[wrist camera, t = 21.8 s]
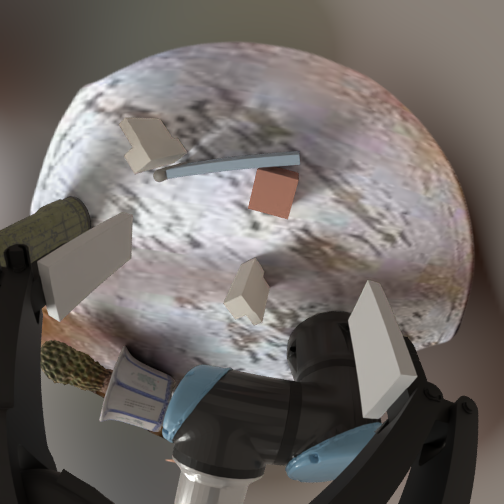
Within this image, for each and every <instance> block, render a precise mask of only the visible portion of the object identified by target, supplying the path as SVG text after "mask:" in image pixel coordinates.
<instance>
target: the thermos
mask: <svg viewBox="0 0 504 504" xmlns="http://www.w3.org/2000/svg"><path fill="white" fill-rule="evenodd" d="M90 226H91V223H90V217H89V213H88V210H87V209H86V207H85V205H84V204H83V203H82V202H81V201H80V200H79V199H78V198H76V197H71V196H69V197H67V198H65V199H63V200H61V199H59V200H57V201H55V202H52V203H50V204H47V205H45V206H43V207H41V208H40V209H39V210H38V211H37V212H36V213H35V214H33V215H31V216H29V217H26V218H24V219H22V220H20V221H18V222H16V223H14V224H12V225H10V226H8V227H6V228H4V229H2V230H0V262H1V266H3V267H6V262H5V258H4V253H3V252H4V250H5V249H6V248H8V247H9V246H12V245H15V244H25V245H27V246H28V247H29V252H30V259H31V263H32V262H34V261H35V260H37V259H38V258H40V257H41V256H43V255H45V254H46V253H49V251H51V250H53V249H55V248H56V247H57V246H59V245H61V244H63V243H66V242H69V241H71V240H73V239H74V238H76V237H78V236H79V235H81V234H83V233H85V232H86V231H88V230H90Z"/></svg>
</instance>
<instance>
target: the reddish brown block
mask: <svg viewBox="0 0 504 504" xmlns="http://www.w3.org/2000/svg"><path fill="white" fill-rule="evenodd" d="M298 181H299V173H296V172H293V171H289V170H285V169H282V168H278V167H274V166H273V167H261V168H258V169H257V172H256V176H255V181H254V185H253V189H252V193H251V198H250V202H249V206H248V209H252V210H256V211H259V212H263V213H267V214H271V215H274V216H278V217H281V218H285V219H288V216H289V213H290V209H291V206H292V202H293V199H294V195H295V191H296V188H297V184H298Z"/></svg>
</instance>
